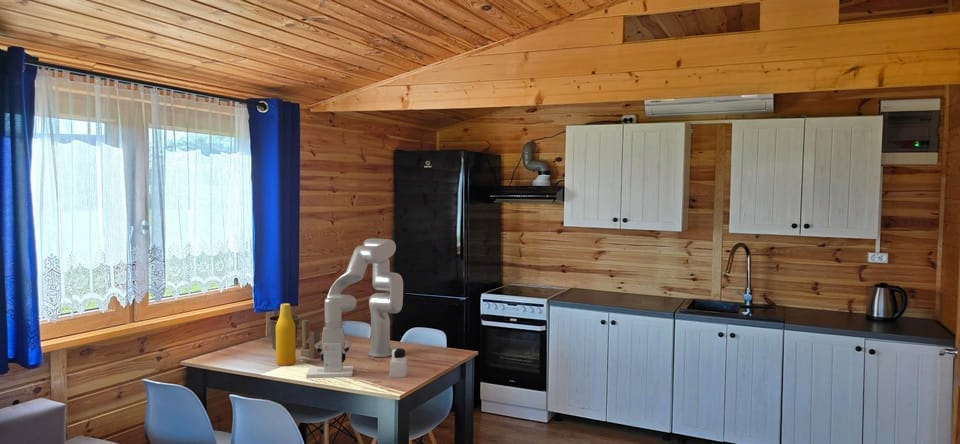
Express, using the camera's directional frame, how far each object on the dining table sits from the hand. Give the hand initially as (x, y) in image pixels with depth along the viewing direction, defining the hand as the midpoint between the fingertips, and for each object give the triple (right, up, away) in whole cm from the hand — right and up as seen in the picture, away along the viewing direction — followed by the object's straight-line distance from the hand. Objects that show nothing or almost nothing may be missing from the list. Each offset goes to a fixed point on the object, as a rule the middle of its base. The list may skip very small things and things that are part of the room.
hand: (333, 361), depth 298 cm
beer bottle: (-27, -5, +16) cm, 31 cm away
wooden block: (-18, -4, +29) cm, 35 cm away
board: (-1, -5, 0) cm, 6 cm away
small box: (0, -4, 0) cm, 4 cm away
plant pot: (-37, -3, +47) cm, 60 cm away
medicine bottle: (+30, -6, -2) cm, 31 cm away
